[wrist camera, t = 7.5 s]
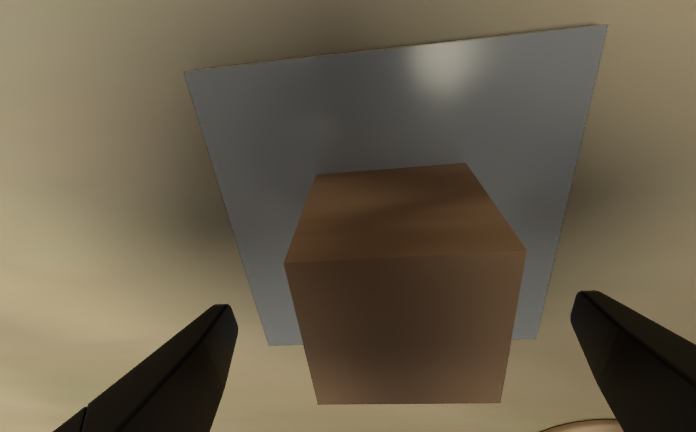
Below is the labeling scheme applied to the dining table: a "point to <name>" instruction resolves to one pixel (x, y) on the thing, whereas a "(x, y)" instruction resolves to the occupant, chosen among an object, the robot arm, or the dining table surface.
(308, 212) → the walnut block
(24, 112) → the dining table surface
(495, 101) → the slate coaster
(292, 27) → the dining table surface
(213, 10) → the dining table surface
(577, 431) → the cork coaster
